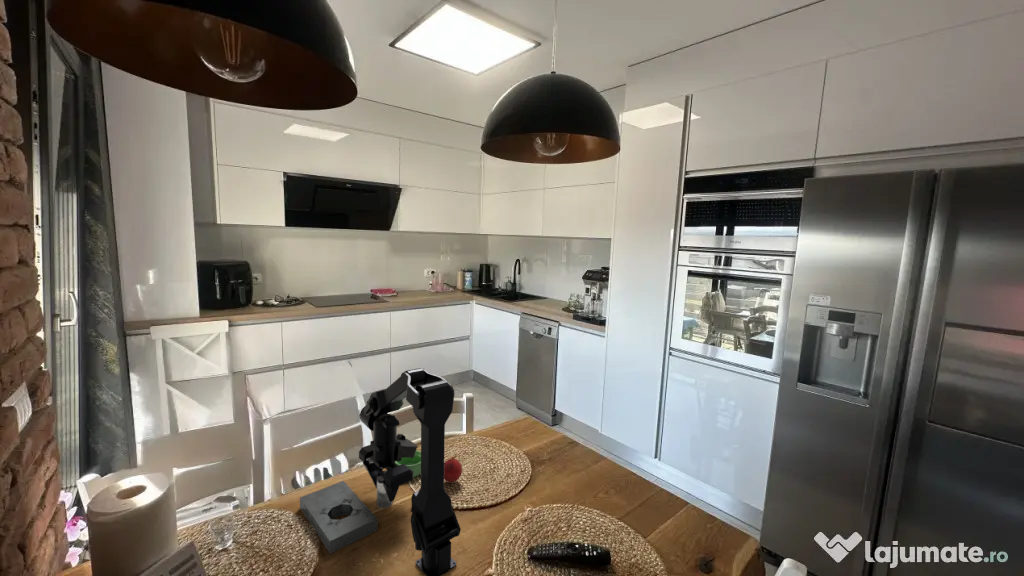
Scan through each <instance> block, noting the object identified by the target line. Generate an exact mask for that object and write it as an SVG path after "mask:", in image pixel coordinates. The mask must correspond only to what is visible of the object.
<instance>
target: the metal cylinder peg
mask: <svg viewBox="0 0 1024 576" xmlns="http://www.w3.org/2000/svg"><path fill="white" fill-rule="evenodd" d="M386 471H387V470H383V471H381V472H379V473H378V474H377V488H376V506H377V508H378V509H379V508H380V509H387V508H389V507H391V506H392V505H393V503H394V501H392V502H390V501H389V499H388V496H387V493H386V491H385V488H384V486H383V483H382V481H383V480H384V474H385V473H386Z"/></svg>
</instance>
